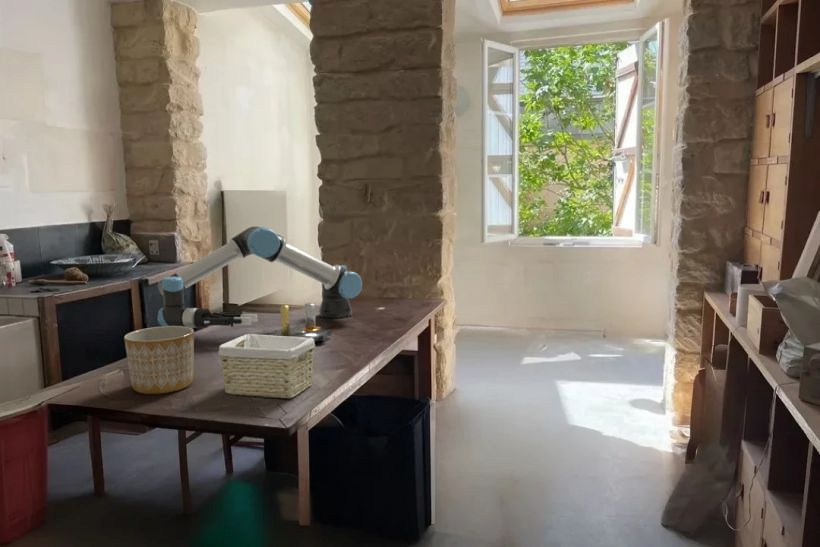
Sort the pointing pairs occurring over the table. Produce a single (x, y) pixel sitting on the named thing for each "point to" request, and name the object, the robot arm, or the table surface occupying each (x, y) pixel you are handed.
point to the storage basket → (267, 365)
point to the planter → (160, 358)
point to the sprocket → (299, 328)
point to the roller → (310, 316)
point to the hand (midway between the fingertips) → (253, 319)
